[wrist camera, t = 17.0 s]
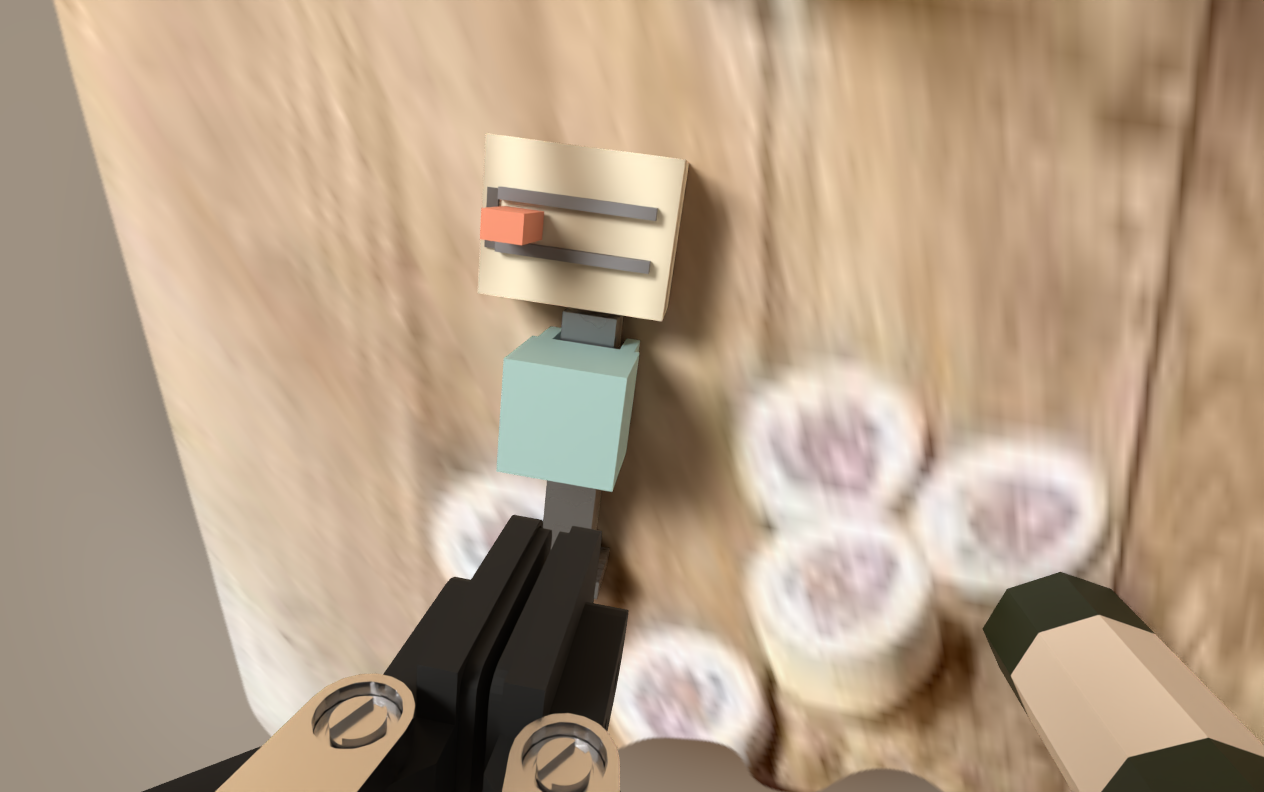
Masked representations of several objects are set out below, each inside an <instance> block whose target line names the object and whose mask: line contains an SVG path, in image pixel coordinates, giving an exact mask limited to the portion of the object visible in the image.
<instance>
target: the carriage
mask: <svg viewBox="0 0 1264 792" xmlns="http://www.w3.org/2000/svg"><path fill="white" fill-rule="evenodd" d="M560 338H561V328H558V327H551V326H550V327H549V328H548V329H547V330H546V331H544V332H543V333H542V334H541V335H539V336H538V337H537V336H532V337H531V338H529V339H528V340H527V341H525V342H524V343H523V344H522V345H520V346H519V347H518V348H516V349H515V350H514V351H513V352H511V353H510V354H509V355H508V356H506V357H505V358H504V364H503V380H502V395H501V410H500V426H499V441H498V456H497V472H503V473H509V474H514V475H520V476H526V477H531V478H537V479H543V480H548V481H554V482H560V483H565V484H571V485H577V486H582V487H588V488H594V489H599V490H605V491H611V492H612V491H613V488H614V485H615V483H616V480H617V477H618V474H619V471H620V468H621V466H622V463H623V460H624V457H625V454H626V449H627V442H628V435H629V427H630V420H631V413H632V405H633V398H634V390H635V383H636V376H637V368H638V361H639V354H640V353H639V346H640V340H635V339H628V338H627V339H626V340H625V342H624V344H623V345H622V347H621V348H620V350H619V349H613V348H607V347H600V346H594V345H588V344H581V343H575V342H569V341H562V340H560Z"/></svg>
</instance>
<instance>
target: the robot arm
mask: <svg viewBox="0 0 1264 792" xmlns="http://www.w3.org/2000/svg"><path fill="white" fill-rule="evenodd" d="M601 539H602V531H600V530H594V529H589V528H583V527H578V526H572V528H571V530H570V532H569V533H567V532H561V531H560V532H559V534H558V536H557V538H556V540H555V542H554V544H553V547H552V549H551V543H552V530H550V529H545V528H543V521H542V520H539V519H534V518H528V517H523V516H517V515H512V517H511V518H510V519H509V521H508V522H507V524H506V526H505V527H504V529H503V530H502V532H501V533H500V535H499V537H498V538H497V540H496V541H495V543H494V545H493V546H492V548H491V549H490V551H489V552H488V554H487V556H486V557H485V559H484V560H483V562H482V563H481V565H480V567H479V568H478V570H477V571H476V573H475V574H474V576H473V578H472V579H471V580H469V579H464V578H458V577H453V578H451V579H450V580H449V581H448V582H447V583H446V585H445V586H444V588H443V589H442V590H441V592H440V593H439V595H438V596H437V598H436V599H435V601H434V602H433V603H432V605H431V606H430V608H429V609H428V611H427V612H426V614H425V615H424V616H423V618H422V619H421V621H420V622H419V624H418V625H417V627H416V628H415V629H414V631H413V632H412V634H411V635H410V637H409V638H408V640H407V641H406V642H405V644H404V645H403V647H402V648H401V650H400V651H399V653H398V654H397V655H396V657H395V658H394V660H393V661H392V663H391V664H390V666H389V667H388V668H387V670H386V671H385V673H384V674H383V675H381V674H359V675H355V676H351V677H347V678H343V679H341V680H339V681H337V682H335V683H332V684H330V685H328V686H326V687H325V688H324V689H322V690H321V691H320V692H319V693H317V694H316V695H315V696H313V697H312V698H311V699H310V700H309V701H308V702H307V703H306V704H305V705H304V706H303V707H302V708H301V709H300V710H299V711H298V712H297V713H296V714H295V715H294V716H293V717H292V718H291V719H290V720H289V721H288V722H286V723H285V724H284V725H283V726H282V727H281V728H280V729H279V730H278V731H277V732H276V733H275V734H274V735H273V736H272V737H271V738H270V739H269V740H268V741H267V742H266V743H265V744H264V745H263V746H261V747H258V748H255V749H253V750H250V751H247V752H245V753H242V754H240V755H237V756H234V757H232V758H229V759H227V760H224V761H221V762H219V763H216V764H213V765H211V766H208V767H206V768H203V769H201V770H198V771H195V772H192V773H190V774H187V775H185V776H182V777H179V778H177V779H174V780H172V781H169V782H166V783H164V784H161V785H159V786H156V787H153V788H151V789H148V790H145V791H143V792H620V760H619V755H618V749H617V746H616V744H615V742H614V741H613V739H612V737H611V735H610V734H609V733H608V732H607V731H608V726H609V721H610V716H611V711H612V706H613V702H614V697H615V692H616V687H617V681H618V676H619V670H620V664H621V658H622V652H623V646H624V640H625V633H626V626H627V619H628V610H625V609H620V608H615V607H610V606H604V605H599V604H594V603H593V602H594V594H595V586H596V578H597V571H598V563H599V555H600V547H601Z"/></svg>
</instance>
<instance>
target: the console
mask: <svg viewBox="0 0 1264 792" xmlns="http://www.w3.org/2000/svg"><path fill="white" fill-rule="evenodd" d="M688 168H689V162H688V161H687V160H685V159H677V158H670V157H662V156H655V155H647V154H639V153H632V152H624V151H617V150H609V149H601V148H594V147H586V146H579V145H571V144H563V143H556V142H548V141H541V140H533V139H525V138H518V137H510V136H503V135H495V134H488V133H486V135H485V156H484V176H483V196H482V208H486V207H499V206H510V207H517V208H524V209H531V210H538V211H544V222H543V234H542V240H539V241H536V242H532V243H529V244H525V245H516V244H509V243H503V242H496V241H489V240H482V239H480V256H479V276H478V293H480V294H487V295H493V296H500V297H506V298H513V299H519V300H526V301H532V302H539V303H545V304H552V305H558V306H565V307H571V308H578V309H584V310H591V311H597V312H604V313H610V314H617V315H624V316H630V317H637V318H643V319H650V320H656V321H662V320H663V318H664V316H665V313H666V311H667V309H668V303H669V297H670V290H671V283H672V276H673V269H674V263H675V256H676V249H677V242H678V235H679V229H680V222H681V215H682V208H683V201H684V195H685V188H686V181H687V174H688Z"/></svg>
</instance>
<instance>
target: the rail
mask: <svg viewBox="0 0 1264 792" xmlns="http://www.w3.org/2000/svg"><path fill="white" fill-rule="evenodd" d="M623 318H624V315H617V314H610V313H604V312H597V311H591V310H584V309H578V308H571V307H568V308H567V309H566V310H564V311H563V317H562V327H561V338H560V340H562V341H569V342H575V343H581V344H588V345H594V346H600V347H607V348H613V349H619V350H620V342H621V334H622V326H623ZM601 494H602V490H599V489H594V488H588V487H582V486H577V485H571V484H565V483H560V482H554V481H548V480H547V487H546V498H545V508H544V519H543V528H545V529H550V530H552V543H551V549H552V547H553V544H554V542H555V540H556V538H557V536H558V534H559V532H560V531H561V532H567V533H569V532H570V530H571V528H572V526H578V527H583V528H589V529H594V530H597V526H598V518H599V510H600V502H601ZM609 550H610V548H607V547H602V546H601V547H600V555H599V563H598V571H597V578H596V586H595V594H594V599H597V597H598V594H599V591H600V587H601V584H602V581H603V577H604V574H605V571H606V567H607V564H608V557H609Z"/></svg>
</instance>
